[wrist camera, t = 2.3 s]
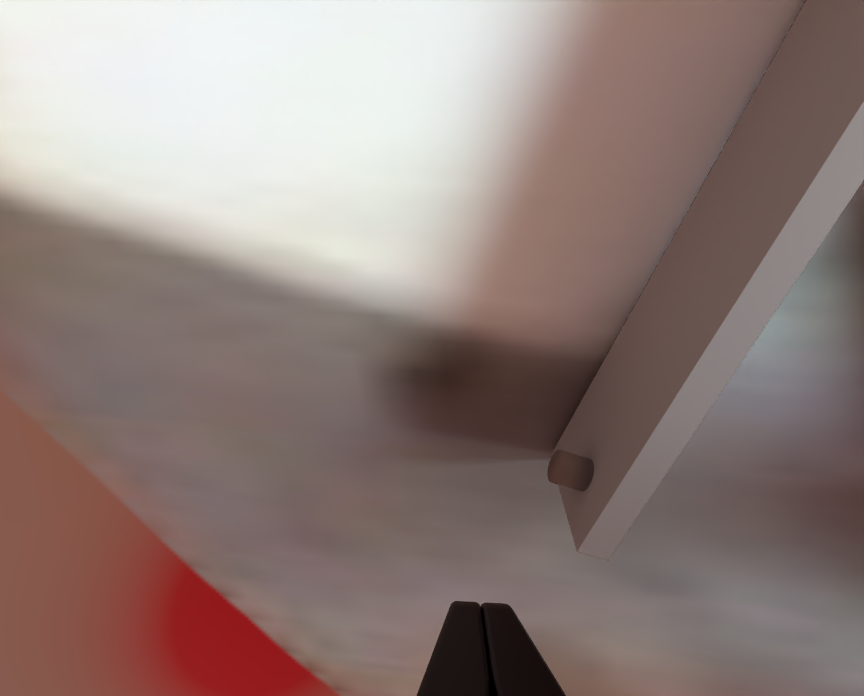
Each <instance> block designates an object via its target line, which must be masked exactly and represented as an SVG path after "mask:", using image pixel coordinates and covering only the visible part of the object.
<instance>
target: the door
mask: <svg viewBox="0 0 864 696" xmlns="http://www.w3.org/2000/svg"><path fill="white" fill-rule="evenodd" d="M863 181H864V0H806V1H805V3H804V5H803V7H802V8H801V10H800V12H799V14H798V15H797V17H796V19H795V21H794V23H793V24H792V26H791V28H790V30H789V31H788V33H787V35H786V37H785V39H784V40H783V42H782V44H781V46H780V48H779V49H778V51H777V53H776V55H775V56H774V58H773V60H772V62H771V64H770V65H769V67H768V69H767V71H766V72H765V74H764V76H763V78H762V80H761V81H760V83H759V85H758V87H757V89H756V90H755V92H754V94H753V96H752V97H751V99H750V101H749V103H748V105H747V106H746V108H745V110H744V112H743V113H742V115H741V117H740V119H739V121H738V122H737V124H736V126H735V128H734V130H733V131H732V133H731V135H730V137H729V138H728V140H727V142H726V144H725V146H724V147H723V149H722V151H721V153H720V154H719V156H718V158H717V160H716V162H715V163H714V165H713V167H712V169H711V171H710V172H709V174H708V176H707V178H706V179H705V181H704V183H703V185H702V187H701V188H700V190H699V192H698V194H697V196H696V197H695V199H694V201H693V203H692V204H691V206H690V208H689V210H688V212H687V213H686V215H685V217H684V219H683V220H682V222H681V224H680V226H679V228H678V229H677V231H676V233H675V235H674V237H673V238H672V240H671V242H670V244H669V245H668V247H667V249H666V251H665V253H664V254H663V256H662V258H661V260H660V261H659V263H658V265H657V267H656V269H655V270H654V272H653V274H652V276H651V278H650V279H649V281H648V283H647V285H646V286H645V288H644V290H643V292H642V294H641V295H640V297H639V299H638V301H637V302H636V304H635V306H634V308H633V310H632V311H631V313H630V315H629V317H628V319H627V320H626V322H625V324H624V326H623V327H622V329H621V331H620V333H619V335H618V336H617V338H616V340H615V342H614V343H613V345H612V347H611V349H610V351H609V352H608V354H607V356H606V358H605V360H604V361H603V363H602V365H601V367H600V368H599V370H598V372H597V374H596V376H595V377H594V379H593V381H592V383H591V384H590V386H589V388H588V390H587V392H586V393H585V395H584V397H583V399H582V401H581V402H580V404H579V406H578V408H577V409H576V411H575V413H574V415H573V417H572V418H571V420H570V422H569V424H568V425H567V427H566V429H565V431H564V433H563V434H562V436H561V438H560V440H559V442H558V443H557V445H556V447H555V449H554V450H553V452H552V454H551V456H550V457H551V460H550V463H549V466H548V479H549V481H550V482H552V483H555V484H558V485H559V489H560V493H561V496H562V500H563V503H564V507H565V510H566V514H567V518H568V521H569V525H570V528H571V532H572V536H573V539H574V543H575V546H576V550H577V552H580V553H583V554H587V555H590V556H594V557H597V558H601V559H604V560H609V559H610V557H611V556H612V554H613V553H614V551H615V550H616V548H617V547H618V545H619V544H620V542H621V541H622V539H623V538H624V536H625V535H626V533H627V532H628V530H629V529H630V528H631V526H632V525H633V523H634V522H635V520H636V519H637V517H638V516H639V514H640V513H641V511H642V510H643V508H644V507H645V505H646V504H647V502H648V501H649V499H650V498H651V496H652V495H653V493H654V492H655V490H656V489H657V487H658V486H659V484H660V483H661V481H662V480H663V478H664V477H665V475H666V474H667V472H668V471H669V469H670V468H671V466H672V465H673V463H674V462H675V460H676V459H677V458H678V456H679V455H680V453H681V452H682V450H683V449H684V447H685V446H686V444H687V443H688V441H689V440H690V438H691V437H692V435H693V434H694V432H695V431H696V429H697V428H698V426H699V425H700V423H701V422H702V420H703V419H704V417H705V416H706V414H707V413H708V411H709V410H710V408H711V407H712V405H713V404H714V402H715V401H716V399H717V398H718V396H719V395H720V393H721V392H722V391H723V389H724V388H725V386H726V385H727V383H728V382H729V380H730V379H731V377H732V376H733V374H734V373H735V371H736V370H737V368H738V367H739V365H740V364H741V362H742V361H743V359H744V358H745V356H746V355H747V353H748V352H749V350H750V349H751V347H752V346H753V344H754V343H755V341H756V340H757V338H758V337H759V335H760V334H761V332H762V331H763V329H764V328H765V326H766V325H767V323H768V322H769V321H770V319H771V318H772V316H773V315H774V313H775V312H776V310H777V309H778V307H779V306H780V304H781V303H782V301H783V300H784V298H785V297H786V295H787V294H788V292H789V291H790V289H791V288H792V286H793V285H794V283H795V282H796V280H797V279H798V277H799V276H800V274H801V273H802V271H803V270H804V268H805V267H806V265H807V264H808V262H809V261H810V259H811V258H812V256H813V255H814V253H815V252H816V251H817V249H818V248H819V246H820V245H821V243H822V242H823V240H824V239H825V237H826V236H827V234H828V233H829V231H830V230H831V228H832V227H833V225H834V224H835V222H836V221H837V219H838V218H839V216H840V215H841V213H842V212H843V210H844V209H845V207H846V206H847V204H848V203H849V201H850V200H851V198H852V197H853V195H854V194H855V192H856V191H857V189H858V188H859V186H860V185H861V184H862V182H863Z"/></svg>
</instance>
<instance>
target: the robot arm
mask: <svg viewBox="0 0 864 696" xmlns="http://www.w3.org/2000/svg"><path fill="white" fill-rule="evenodd" d="M417 696H566V695H565V693H564V692H563V690H562V688H561V687H560V685H559V684H558V682H557V680H556V679H555V677H554V675H553V674H552V672H551V671H550V669H549V667H548V666H547V664H546V663H545V661H544V659H543V658H542V656H541V654H540V653H539V651H538V650H537V648H536V646H535V645H534V643H533V642H532V640H531V638H530V637H529V635H528V633H527V632H526V630H525V629H524V627H523V625H522V624H521V622H520V621H519V619H518V617H517V616H516V614H515V612H514V611H513V609H512V608H511V607H510V606H509V605H507V604H502V603H483V604H482V605H481V606H480V605H479V604H478V603H476V602H464V601H454V602H453V603H452V604H451V606H450V608H449V611H448V613H447V616H446V619H445V621H444V624H443V627H442V629H441V632H440V635H439V637H438V640H437V643H436V645H435V648H434V651H433V653H432V656H431V659H430V661H429V664H428V667H427V669H426V672H425V675H424V677H423V680H422V683H421V685H420V688H419V691H418V693H417Z"/></svg>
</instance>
